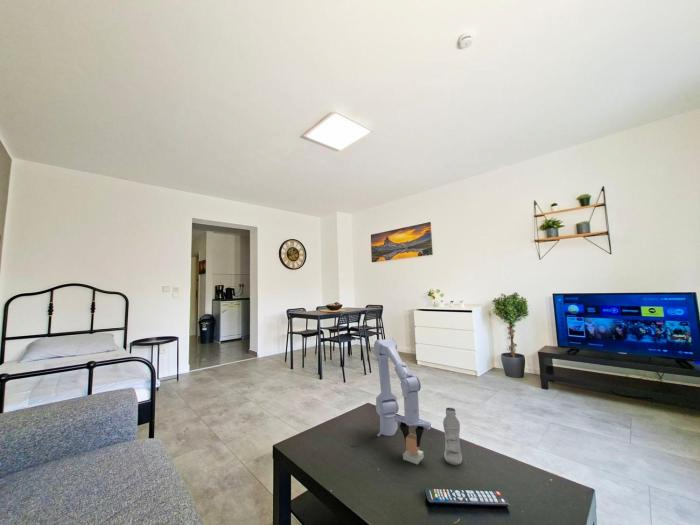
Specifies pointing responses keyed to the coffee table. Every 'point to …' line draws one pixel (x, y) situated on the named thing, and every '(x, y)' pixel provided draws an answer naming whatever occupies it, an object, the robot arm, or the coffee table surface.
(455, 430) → the plastic bottle
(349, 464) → the coffee table surface
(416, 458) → the top slab
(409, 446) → the block
